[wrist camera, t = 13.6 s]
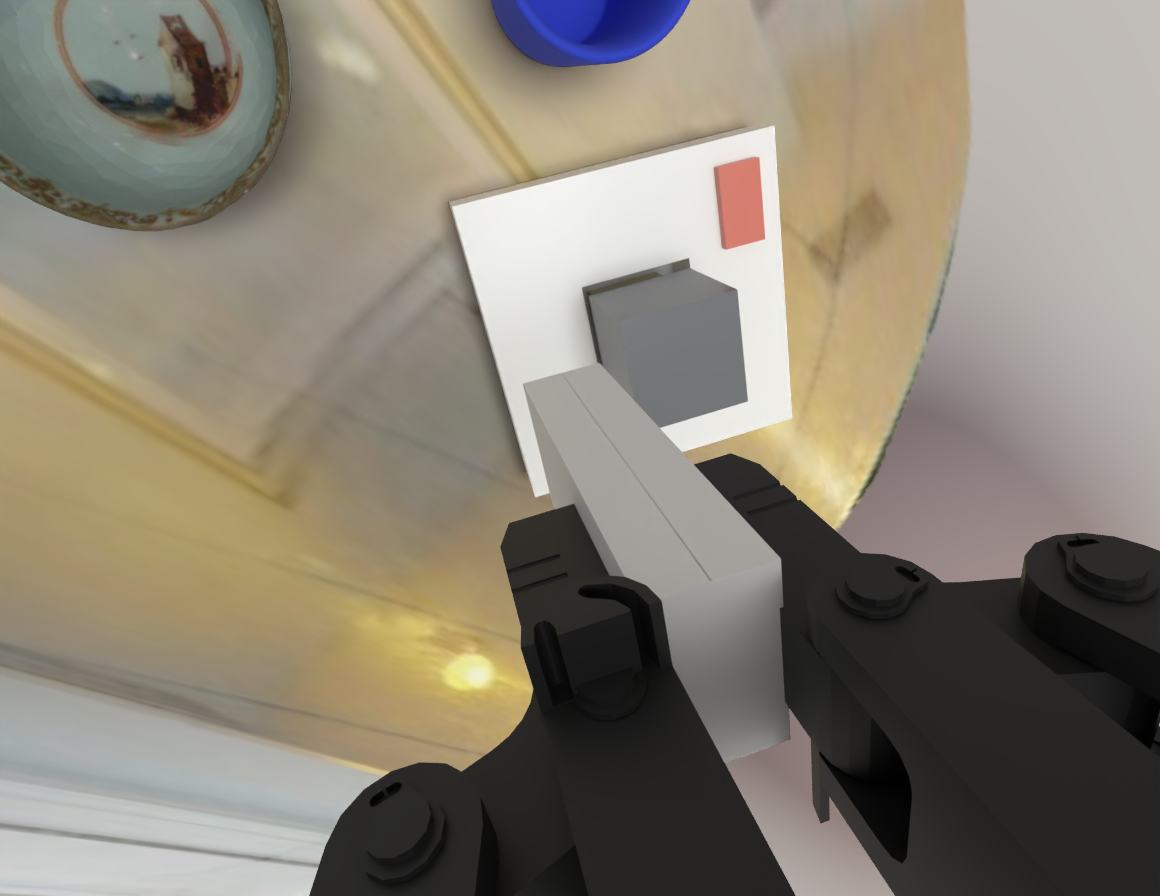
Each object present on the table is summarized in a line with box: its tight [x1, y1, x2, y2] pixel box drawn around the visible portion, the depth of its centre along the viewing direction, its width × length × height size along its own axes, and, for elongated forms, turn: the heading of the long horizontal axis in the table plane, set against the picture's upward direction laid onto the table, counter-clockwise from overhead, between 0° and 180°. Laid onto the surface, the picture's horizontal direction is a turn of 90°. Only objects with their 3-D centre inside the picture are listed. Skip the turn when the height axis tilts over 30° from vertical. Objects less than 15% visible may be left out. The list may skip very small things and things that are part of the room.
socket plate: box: [448, 126, 792, 497], centre depth 40 cm, size 18×18×4 cm
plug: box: [587, 268, 748, 428], centre depth 36 cm, size 6×6×10 cm
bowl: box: [0, 0, 292, 231], centre depth 27 cm, size 14×13×8 cm
